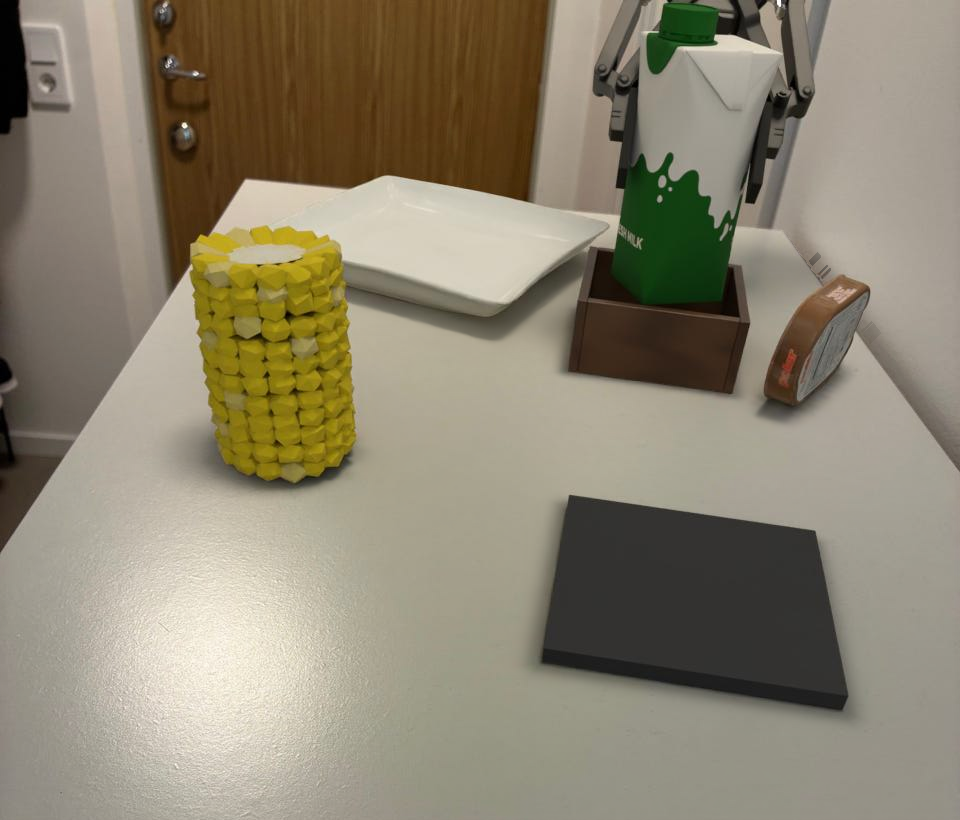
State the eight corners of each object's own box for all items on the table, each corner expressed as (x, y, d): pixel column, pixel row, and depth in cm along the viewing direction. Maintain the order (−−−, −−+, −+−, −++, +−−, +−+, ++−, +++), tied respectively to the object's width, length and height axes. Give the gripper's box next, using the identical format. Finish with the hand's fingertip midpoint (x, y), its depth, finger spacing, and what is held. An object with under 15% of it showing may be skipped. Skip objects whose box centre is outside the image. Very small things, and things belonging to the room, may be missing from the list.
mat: (811, 543, 64) (815, 530, 63) (843, 709, 52) (848, 695, 51) (567, 507, 65) (568, 494, 64) (541, 661, 53) (543, 647, 52)
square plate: (384, 205, 112) (385, 169, 110) (609, 257, 104) (614, 219, 102) (240, 273, 93) (236, 230, 90) (501, 343, 85) (505, 298, 82)
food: (266, 522, 64) (204, 459, 70) (416, 444, 68) (344, 392, 74) (183, 301, 53) (119, 251, 59) (367, 224, 57) (288, 185, 63)
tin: (818, 355, 88) (848, 260, 82) (852, 366, 87) (884, 270, 81) (751, 412, 78) (780, 308, 73) (788, 425, 77) (820, 320, 71)
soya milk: (596, 271, 84) (635, -4, 72) (691, 268, 87) (745, 0, 74) (637, 310, 78) (688, 15, 65) (738, 305, 80) (806, 20, 68)
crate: (726, 330, 91) (741, 265, 87) (732, 393, 80) (750, 322, 77) (580, 311, 92) (589, 245, 88) (567, 371, 81) (577, 299, 78)
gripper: (854, -33, 79) (819, 229, 77) (584, -59, 81) (543, 197, 79) (886, -113, 72) (849, 174, 70) (588, -140, 74) (543, 140, 72)
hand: (687, 186), depth 74 cm, fingers closed on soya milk, 9 cm apart
